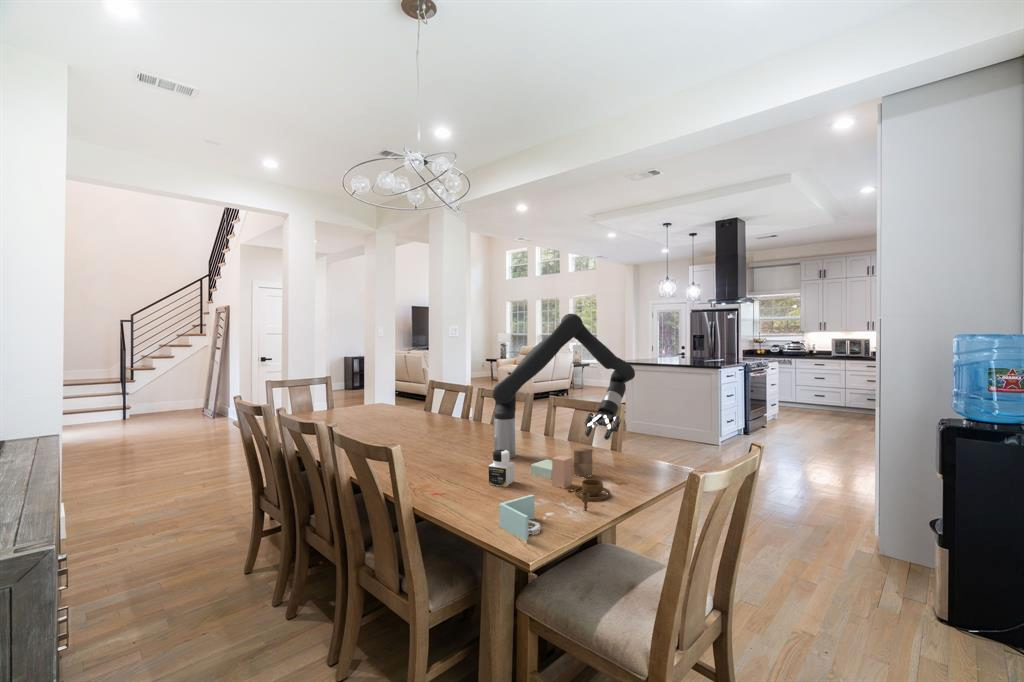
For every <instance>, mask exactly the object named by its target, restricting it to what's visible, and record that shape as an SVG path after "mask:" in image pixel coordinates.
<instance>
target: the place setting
mask: <svg viewBox="0 0 1024 682" xmlns="http://www.w3.org/2000/svg"><path fill="white" fill-rule="evenodd" d="M571 490H573V492H574V494H575V496H576V497H577V498H578V497H579V499H580V498H581V499H580V500H581V502H582V503H584V505H583V512H584V511H588V503H589V502H598V501H597V500H601V501H605V500H607V499H609V498H610V496H611V491H610V490H609V489H608V488H606V487H604V483H603V481H601V480H599V479H594V478H592V479H591V478H588V479H587V478H586V479H584V480H582V481H581V486H579V487H576V488H570V489H569V488H568V489H567V492H568V493H569V492H570V493H573V492H572V491H571ZM581 490H583V491H581ZM579 491H581V494H579V493H580V492H579ZM602 491H605V492H606V493H608V495H607V494H606V493H605V494H606V495H604V496H599V495H600V494H601V493H603V492H602ZM577 492H579V493H578V494H577ZM590 496H591V497H590ZM595 496H596V497H595ZM608 497H609V498H608ZM604 499H605V500H604ZM589 500H590V501H589Z"/></svg>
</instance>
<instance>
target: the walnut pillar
mask: <svg viewBox="0 0 1024 682" xmlns="http://www.w3.org/2000/svg"><path fill="white" fill-rule="evenodd" d="M573 471H574V472H573V476H574V475H576V476H579V477H578V478H580V477H584V478H583V479H585V478H586V477H588V476H590V475H592V476H593V449H590V448H587V447H586V448H585V447H579V448H575V449H574V450H573ZM576 476H575V477H576ZM590 477H591V476H590ZM588 478H589V477H588ZM586 479H587V478H586Z"/></svg>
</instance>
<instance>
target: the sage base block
mask: <svg viewBox="0 0 1024 682" xmlns="http://www.w3.org/2000/svg"><path fill="white" fill-rule="evenodd" d="M533 474H535V475H534V476H536V475H538V476H537V477H540V476H542V477H541V478H544V477H546V478H545V479H548V478H550V479H549V480H552V459H544V460H541V461H538V462H535V463H532V464H530V475H533Z"/></svg>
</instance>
